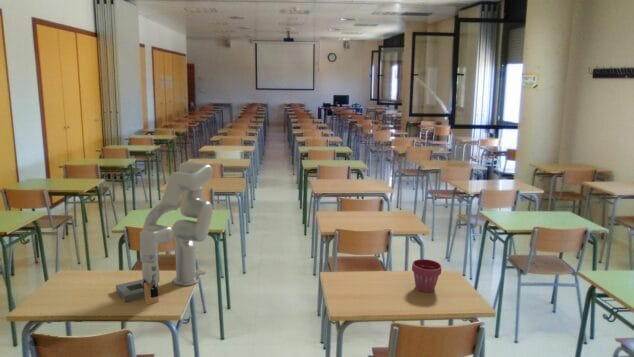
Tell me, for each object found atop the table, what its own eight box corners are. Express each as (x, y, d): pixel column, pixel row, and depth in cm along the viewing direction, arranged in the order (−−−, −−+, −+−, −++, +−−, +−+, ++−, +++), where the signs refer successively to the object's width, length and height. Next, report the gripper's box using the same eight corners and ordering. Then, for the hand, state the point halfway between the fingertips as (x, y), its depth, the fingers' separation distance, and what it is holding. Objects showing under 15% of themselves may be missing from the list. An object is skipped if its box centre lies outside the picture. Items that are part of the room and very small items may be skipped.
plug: (155, 298, 235) (154, 280, 233) (158, 301, 232) (157, 283, 230) (144, 301, 232) (143, 282, 231) (147, 304, 229) (146, 285, 227)
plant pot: (445, 291, 251) (447, 267, 248) (422, 296, 245) (424, 271, 242) (427, 280, 263) (429, 257, 261) (405, 285, 257) (406, 261, 255)
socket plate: (145, 284, 250) (145, 278, 250) (155, 294, 239) (155, 288, 239) (116, 291, 242) (115, 285, 241) (125, 302, 231) (124, 295, 230)
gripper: (164, 261, 223) (165, 297, 226) (151, 250, 237) (152, 284, 240) (147, 264, 219) (149, 301, 222) (134, 252, 232) (136, 288, 236)
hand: (150, 293), depth 231 cm, fingers open, 9 cm apart
